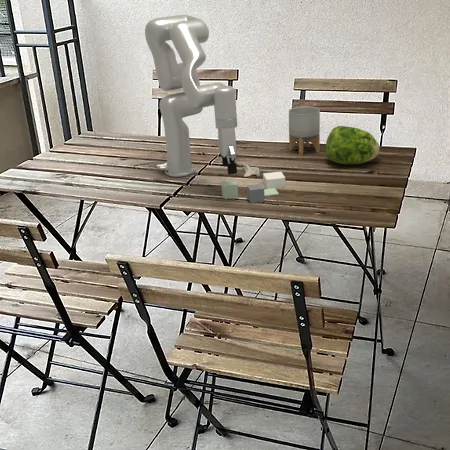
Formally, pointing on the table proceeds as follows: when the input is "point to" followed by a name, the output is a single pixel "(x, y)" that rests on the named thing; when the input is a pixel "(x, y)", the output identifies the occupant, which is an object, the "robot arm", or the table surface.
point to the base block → (274, 180)
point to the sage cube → (229, 189)
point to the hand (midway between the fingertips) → (229, 169)
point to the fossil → (250, 170)
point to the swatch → (270, 192)
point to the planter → (304, 127)
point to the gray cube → (255, 193)
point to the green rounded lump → (351, 146)
